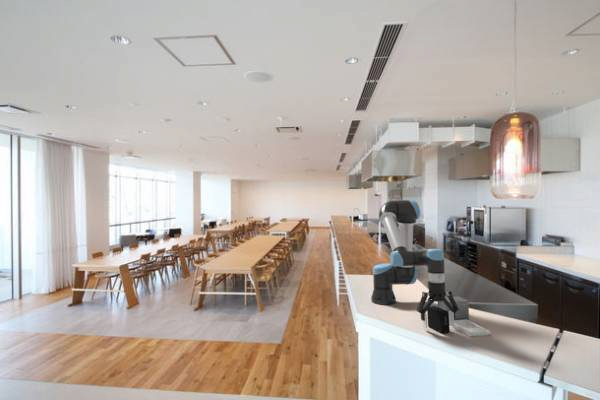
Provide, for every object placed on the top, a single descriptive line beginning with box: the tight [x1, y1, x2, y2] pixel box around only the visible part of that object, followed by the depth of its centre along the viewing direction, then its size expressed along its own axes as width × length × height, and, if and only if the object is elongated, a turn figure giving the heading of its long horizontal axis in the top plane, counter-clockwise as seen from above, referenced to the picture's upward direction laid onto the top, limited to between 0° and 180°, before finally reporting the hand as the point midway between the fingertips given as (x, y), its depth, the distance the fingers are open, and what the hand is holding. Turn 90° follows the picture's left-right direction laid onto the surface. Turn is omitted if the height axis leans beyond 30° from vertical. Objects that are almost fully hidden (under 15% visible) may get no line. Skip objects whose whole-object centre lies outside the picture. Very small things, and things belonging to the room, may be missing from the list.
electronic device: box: [426, 305, 450, 335], centre depth 146 cm, size 4×10×10 cm, turn 15°
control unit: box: [437, 295, 473, 322], centre depth 159 cm, size 10×14×11 cm
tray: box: [451, 319, 491, 338], centre depth 146 cm, size 16×10×2 cm, turn 7°
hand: (438, 326), depth 146 cm, fingers open, 13 cm apart
